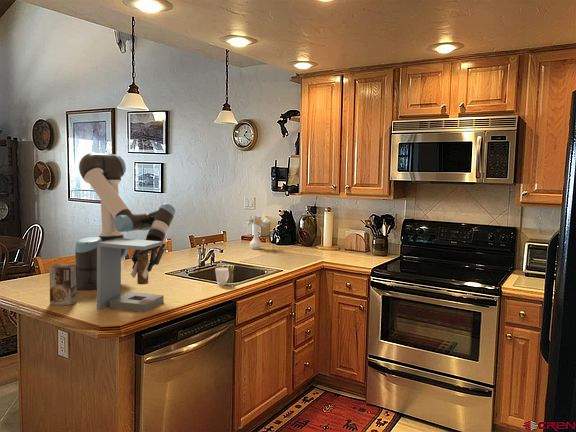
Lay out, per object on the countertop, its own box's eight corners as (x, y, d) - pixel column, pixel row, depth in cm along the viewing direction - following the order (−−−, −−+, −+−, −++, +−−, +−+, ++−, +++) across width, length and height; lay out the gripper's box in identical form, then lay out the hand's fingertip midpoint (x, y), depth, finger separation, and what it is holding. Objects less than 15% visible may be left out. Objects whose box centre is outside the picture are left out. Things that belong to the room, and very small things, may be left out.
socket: (109, 307, 196) (109, 300, 196) (130, 298, 212) (130, 291, 212) (144, 311, 193) (144, 304, 193) (163, 301, 208) (163, 295, 208)
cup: (211, 284, 244) (212, 269, 243) (222, 280, 253) (222, 266, 252) (223, 286, 241) (223, 270, 240) (233, 282, 250) (234, 267, 249)
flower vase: (269, 248, 367) (270, 216, 365) (255, 250, 352) (256, 217, 350) (256, 246, 374) (257, 214, 372) (241, 248, 359) (242, 216, 357)
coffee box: (77, 301, 204) (77, 264, 203) (71, 305, 198) (71, 267, 197) (56, 300, 204) (55, 263, 203) (49, 304, 198) (48, 266, 196)
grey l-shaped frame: (96, 308, 194) (97, 242, 192) (117, 299, 209) (118, 238, 206) (143, 314, 190) (144, 246, 187) (161, 304, 204) (162, 241, 202)
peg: (135, 283, 202) (135, 256, 201) (140, 281, 207) (140, 254, 206) (145, 284, 201) (145, 257, 200) (150, 282, 206) (150, 255, 205)
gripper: (177, 239, 216) (160, 283, 201) (142, 236, 219) (123, 279, 205) (172, 229, 210) (154, 273, 195) (136, 226, 213) (116, 270, 199)
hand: (138, 276), depth 200 cm, fingers closed on peg, 4 cm apart
